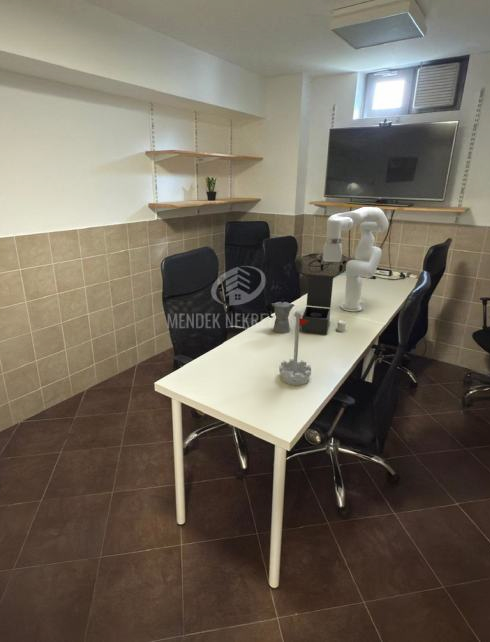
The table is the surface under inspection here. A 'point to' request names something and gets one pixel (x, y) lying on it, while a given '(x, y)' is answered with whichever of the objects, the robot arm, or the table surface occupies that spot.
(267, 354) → the table surface
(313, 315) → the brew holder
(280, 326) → the coffeepot
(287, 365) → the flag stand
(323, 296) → the lid
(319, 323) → the coffee maker
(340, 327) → the cylinder
